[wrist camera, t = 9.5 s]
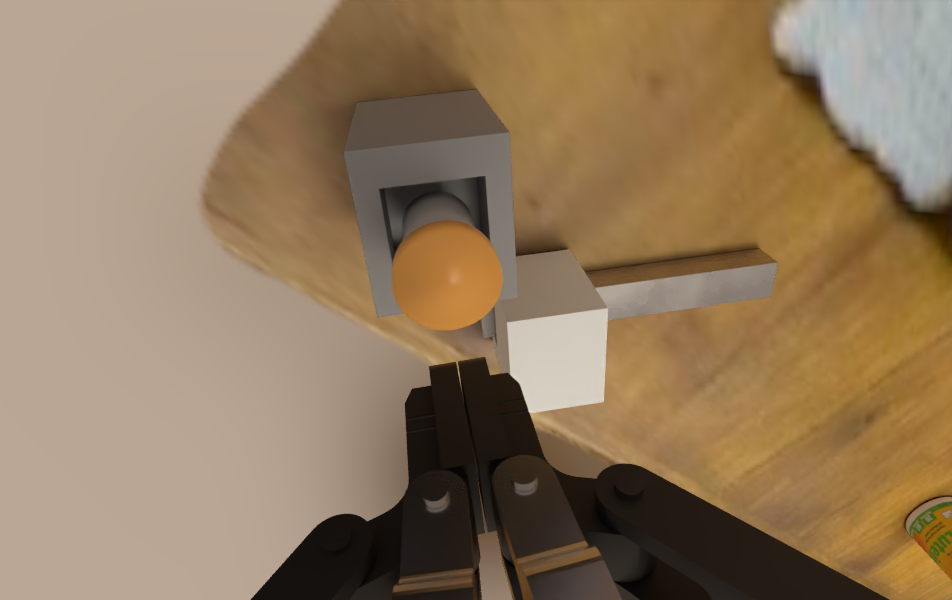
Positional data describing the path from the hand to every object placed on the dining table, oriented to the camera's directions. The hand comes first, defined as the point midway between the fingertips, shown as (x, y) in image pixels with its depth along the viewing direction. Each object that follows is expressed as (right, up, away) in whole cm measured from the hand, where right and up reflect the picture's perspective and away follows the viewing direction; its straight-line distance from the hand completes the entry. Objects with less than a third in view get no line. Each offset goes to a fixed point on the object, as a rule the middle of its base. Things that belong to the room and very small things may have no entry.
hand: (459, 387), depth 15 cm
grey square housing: (-2, +9, +15) cm, 18 cm away
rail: (+9, +3, +20) cm, 22 cm away
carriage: (+4, +2, +20) cm, 20 cm away
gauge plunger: (-1, +5, +8) cm, 9 cm away
